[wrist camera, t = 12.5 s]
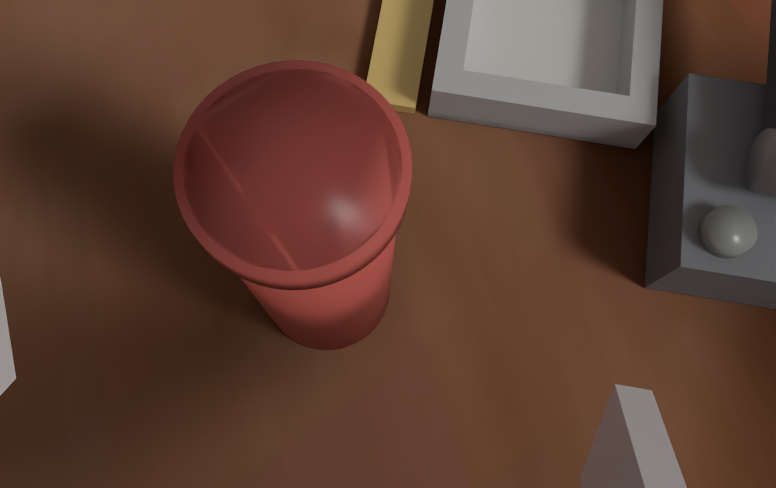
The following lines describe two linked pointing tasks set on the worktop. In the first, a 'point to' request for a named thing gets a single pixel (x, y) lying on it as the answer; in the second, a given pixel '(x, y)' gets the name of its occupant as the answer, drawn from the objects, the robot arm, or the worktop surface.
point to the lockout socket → (528, 65)
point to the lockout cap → (299, 194)
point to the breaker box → (710, 196)
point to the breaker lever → (766, 128)
